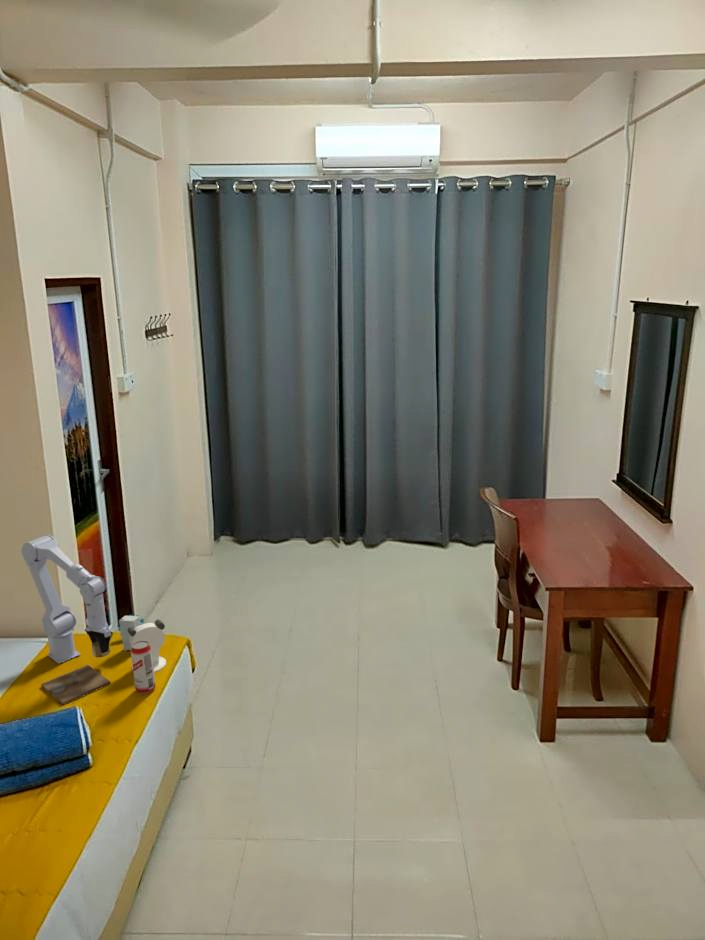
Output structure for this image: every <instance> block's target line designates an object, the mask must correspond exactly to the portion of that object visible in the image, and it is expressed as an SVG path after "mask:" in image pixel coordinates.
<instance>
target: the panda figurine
mask: <svg viewBox="0 0 705 940" xmlns="http://www.w3.org/2000/svg"><path fill="white" fill-rule="evenodd" d="M141 624H142V623H141ZM165 627H166V626H165V624H164V623H163V621H162V620H161V619H156V620H155V621H154V623H153V622H146V623H143V624H142V625H139V626H137V627H135V628H133V627H129V628H128V633H129V634H130V639H129V641H130V645H131V646H132V645H133V644H134V643H136V642H138V641H147V642H148V643H149V645H150V647H151V651H152V660H153V668H154V673H156V672H159V671H161V670H162V669H164V668H165V666H166V665H167V660H166V658H164V657H162V656H160V649H161V648H162V646H163V645H164V643H165V641H166V635H165V633H164V631H163V630H164V629H165ZM131 670H132V671H133V666H131Z"/></svg>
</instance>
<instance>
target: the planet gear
mask: <svg viewBox="0 0 705 940" xmlns="http://www.w3.org/2000/svg"><path fill="white" fill-rule="evenodd" d="M91 650H92V651H91V652H92V656H93V657H94V658H104V657H107V656H108V655H109V654H110V652H111V648H110V646H109V649H108V652H105V653H102V652H101V650H100V646H99V643H98V641H95V642H93V644H91Z"/></svg>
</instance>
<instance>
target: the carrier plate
mask: <svg viewBox="0 0 705 940" xmlns="http://www.w3.org/2000/svg"><path fill="white" fill-rule="evenodd" d="M109 684H110V685H111V681H110V679H108V678H107V677H105V676H104V675H103V674H102V673H100V672H98V671H97V670H95V669H94V667H92V666H90V665H89V664H86V665H84V666H82V667H80V668H76V669H74V670H72V671H69V672H67V673H65V674H63V675H60V676H57V677H55V678H52V679H50V680H48V681H45V682H43V683H40V686H41V687H43V689H44V691H45V692H47V691H48V692H49V693H50V694H51V695H50V694H49V693H48V692H47V693H48V694H49V695H50V696H51V697H53V698H54V697H55V698H56V699H57V700H58V701H59V702H58V701H57V700H56V699H55V698H54V699H55V700H56V701H57V702H58V703H60V704H61V705H62V706H64V705H66V704H68V702H69V703H70V701H71V702H73V701H75V700H74V699H76V698H78V699H80V698H82V697H84V696H83V695H85V696H86V694H87V693H89V694H91V693H93V692H92V691H94V690H96V689H98V690H100V689H102V688H101V687H103V688H105V687H107V686H110V685H109ZM106 685H107V686H106ZM104 686H105V687H104ZM99 688H100V689H99ZM96 691H97V690H96ZM90 692H91V693H90ZM94 692H95V691H94ZM87 695H88V694H87ZM81 696H82V697H81ZM79 697H80V698H79ZM72 700H73V701H72ZM76 700H77V699H76ZM65 703H66V704H65ZM63 704H64V705H63Z"/></svg>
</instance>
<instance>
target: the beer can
mask: <svg viewBox="0 0 705 940" xmlns="http://www.w3.org/2000/svg"><path fill="white" fill-rule="evenodd" d="M130 657H131V664H132V666H133V670H132V672H133V673H132V674H133V680H134V681H133V682H134V688H135V691H136V693H138V694H141V695H142V694H143V695H145V694H150V693H152V692H153V691H154V690H155V688H156V678H155V677H156V676H155V672H154V668H153V660H152V651H151V647H150V645H149V643H148V642H147V641H138V642H136V643H134V644H133V645H132V649H131V651H130ZM132 666H131V667H132Z"/></svg>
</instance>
